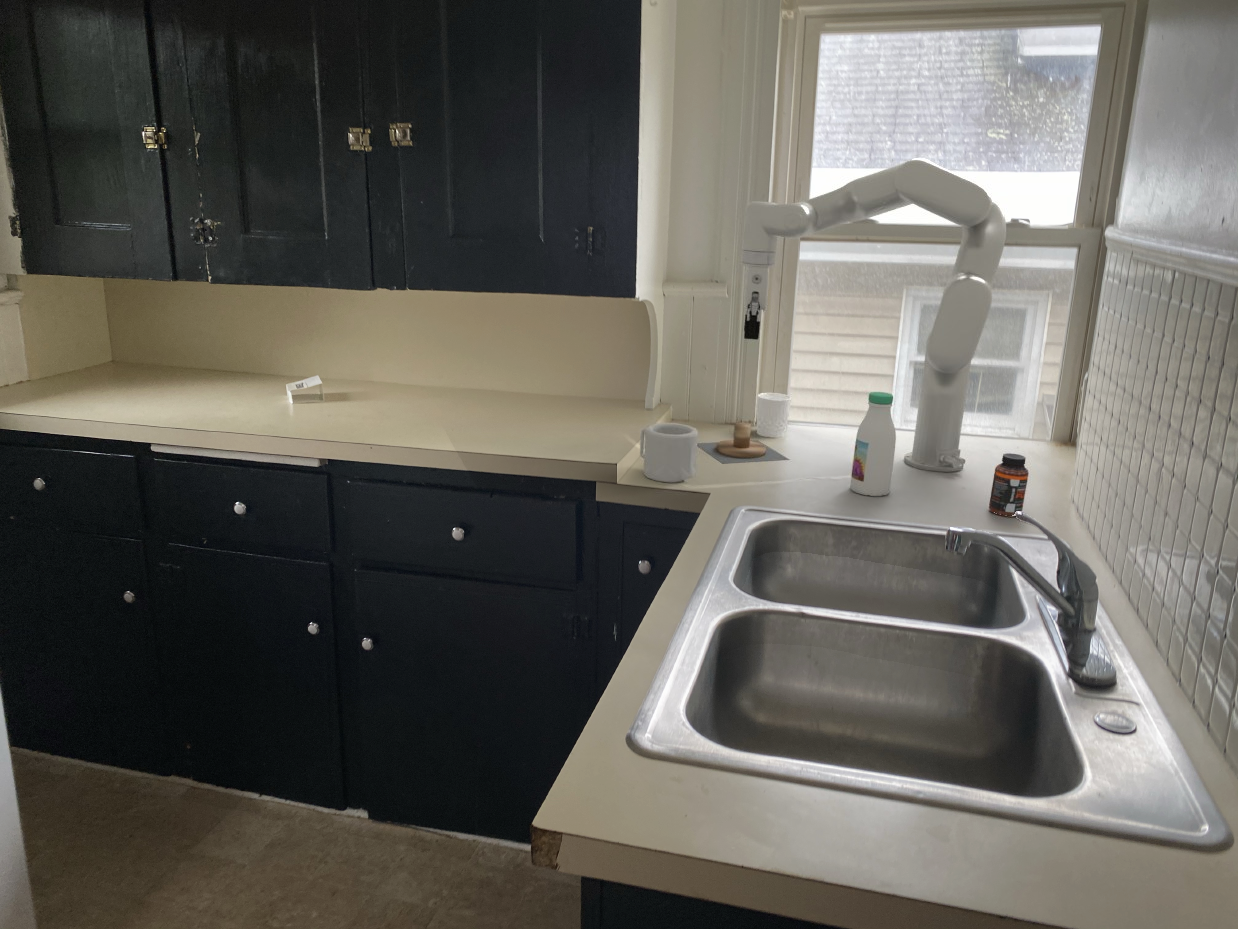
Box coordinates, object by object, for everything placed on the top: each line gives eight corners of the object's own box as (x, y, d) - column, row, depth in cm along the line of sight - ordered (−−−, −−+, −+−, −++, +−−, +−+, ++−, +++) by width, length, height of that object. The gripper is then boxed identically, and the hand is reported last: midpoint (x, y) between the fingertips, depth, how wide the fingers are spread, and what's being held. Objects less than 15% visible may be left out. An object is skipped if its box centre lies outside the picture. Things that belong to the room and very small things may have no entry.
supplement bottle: (1018, 520, 179) (1028, 462, 176) (985, 513, 182) (994, 456, 179) (1024, 511, 184) (1033, 455, 181) (991, 505, 187) (1000, 449, 184)
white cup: (786, 442, 226) (790, 401, 223) (753, 439, 227) (756, 398, 224) (787, 434, 233) (791, 394, 230) (755, 431, 235) (758, 391, 232)
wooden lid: (774, 456, 211) (776, 429, 209) (728, 459, 207) (730, 431, 206) (752, 443, 221) (754, 417, 219) (708, 446, 217) (710, 419, 216)
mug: (705, 476, 198) (709, 429, 195) (672, 487, 190) (675, 438, 187) (656, 461, 207) (658, 416, 204) (622, 471, 199) (624, 424, 196)
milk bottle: (890, 488, 195) (902, 392, 189) (888, 499, 188) (900, 399, 182) (852, 483, 197) (863, 387, 191) (847, 494, 190) (859, 395, 184)
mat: (789, 463, 209) (789, 459, 209) (722, 467, 205) (722, 463, 204) (757, 443, 224) (757, 440, 224) (693, 446, 219) (694, 443, 219)
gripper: (776, 263, 205) (768, 343, 210) (773, 257, 221) (766, 330, 226) (741, 261, 205) (734, 340, 210) (741, 254, 222) (734, 328, 227)
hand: (751, 335), depth 218 cm, fingers open, 9 cm apart
